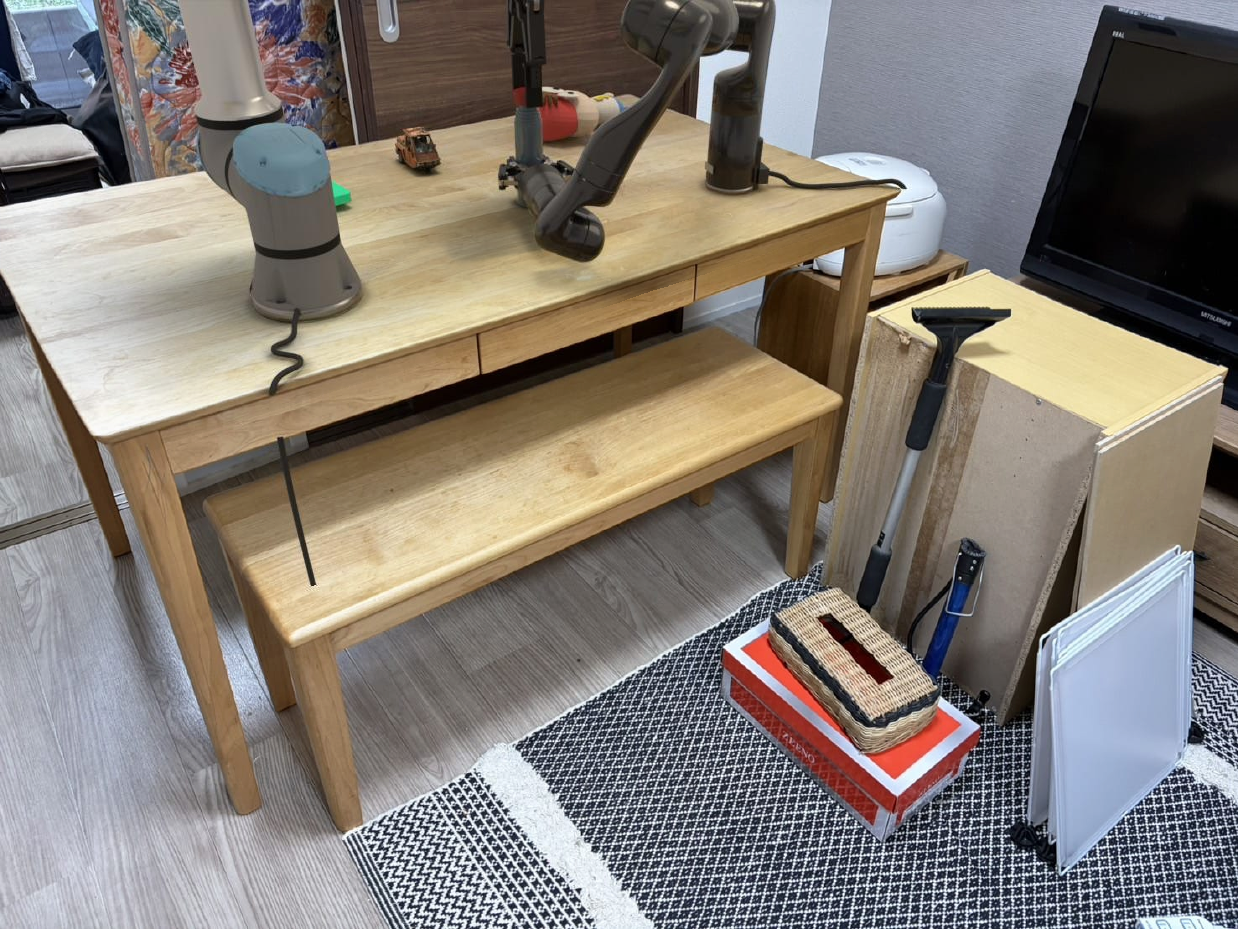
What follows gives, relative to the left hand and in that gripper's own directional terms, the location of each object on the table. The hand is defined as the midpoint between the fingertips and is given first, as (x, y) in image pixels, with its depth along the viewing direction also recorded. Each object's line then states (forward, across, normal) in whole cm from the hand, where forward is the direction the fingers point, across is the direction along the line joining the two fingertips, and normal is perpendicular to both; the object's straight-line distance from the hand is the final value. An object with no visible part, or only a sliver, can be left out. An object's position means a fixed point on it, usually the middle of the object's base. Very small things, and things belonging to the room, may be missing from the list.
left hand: (527, 100), depth 156 cm
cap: (-1, 0, 0) cm, 1 cm away
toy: (+18, -36, +25) cm, 47 cm away
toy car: (+18, -25, -15) cm, 34 cm away
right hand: (+11, -3, 0) cm, 11 cm away
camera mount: (+18, -11, -36) cm, 42 cm away
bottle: (+18, 0, 0) cm, 18 cm away
